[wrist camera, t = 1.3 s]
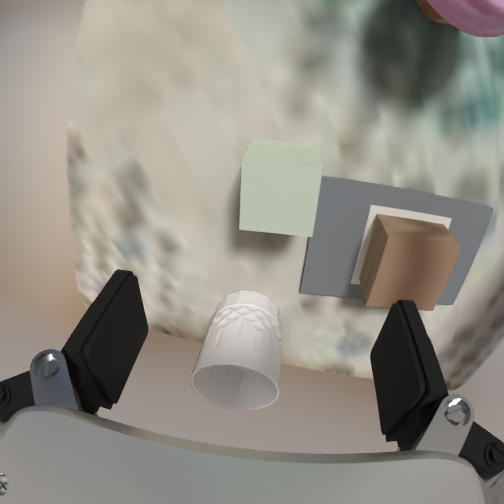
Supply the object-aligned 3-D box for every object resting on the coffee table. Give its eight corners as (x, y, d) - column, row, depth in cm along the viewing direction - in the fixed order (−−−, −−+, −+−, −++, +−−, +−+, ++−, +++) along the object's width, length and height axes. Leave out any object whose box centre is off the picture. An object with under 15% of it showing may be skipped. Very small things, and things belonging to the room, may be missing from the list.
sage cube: (315, 145, 23) (322, 167, 18) (308, 202, 26) (312, 237, 21) (253, 139, 24) (241, 159, 19) (250, 196, 26) (239, 229, 21)
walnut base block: (443, 224, 25) (461, 246, 21) (421, 284, 29) (432, 310, 25) (376, 213, 25) (388, 236, 22) (359, 278, 29) (365, 306, 26)
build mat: (491, 207, 23) (493, 209, 23) (451, 302, 30) (452, 305, 29) (318, 175, 25) (318, 177, 24) (300, 290, 31) (299, 293, 31)
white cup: (290, 334, 35) (286, 409, 26) (225, 339, 37) (208, 410, 28) (277, 280, 31) (269, 361, 23) (203, 289, 33) (176, 363, 24)
